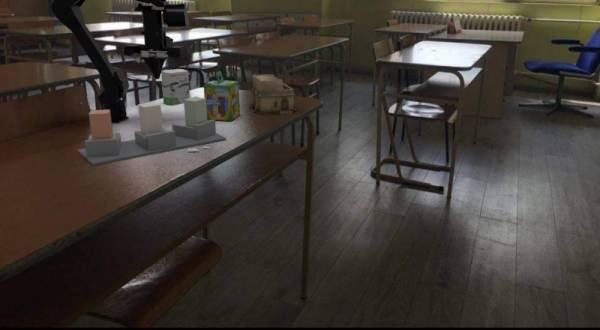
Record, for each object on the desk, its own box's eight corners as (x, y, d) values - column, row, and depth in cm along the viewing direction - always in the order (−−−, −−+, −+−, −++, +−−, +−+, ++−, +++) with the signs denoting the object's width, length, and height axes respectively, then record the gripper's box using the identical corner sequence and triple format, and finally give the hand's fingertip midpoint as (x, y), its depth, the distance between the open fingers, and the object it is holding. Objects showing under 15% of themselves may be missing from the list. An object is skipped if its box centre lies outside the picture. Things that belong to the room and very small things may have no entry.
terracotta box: (95, 148, 129) (90, 110, 125) (114, 147, 130) (109, 109, 126) (94, 153, 125) (88, 114, 122) (113, 151, 126) (108, 113, 123)
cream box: (141, 140, 135) (138, 104, 132) (157, 137, 138) (154, 102, 134) (147, 144, 132) (143, 107, 129) (163, 141, 135) (160, 105, 131)
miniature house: (257, 116, 165) (256, 82, 161) (248, 107, 178) (247, 75, 174) (300, 113, 170) (300, 80, 166) (288, 104, 182) (288, 73, 178)
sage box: (186, 134, 141) (183, 99, 138) (197, 130, 145) (195, 96, 142) (197, 136, 139) (194, 101, 136) (207, 132, 143) (205, 98, 140)
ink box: (170, 105, 178) (167, 72, 174) (163, 103, 182) (160, 70, 178) (191, 102, 184) (188, 69, 180) (183, 100, 188) (181, 68, 184)
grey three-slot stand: (76, 150, 130) (74, 133, 128) (202, 128, 150) (201, 113, 149) (93, 165, 119) (90, 147, 118) (226, 140, 140) (225, 124, 138)
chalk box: (232, 122, 158) (230, 75, 153) (204, 120, 160) (202, 73, 155) (241, 115, 167) (239, 70, 162) (215, 113, 169) (212, 69, 164)
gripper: (193, 26, 156) (196, 76, 161) (138, 24, 159) (143, 73, 165) (177, 28, 145) (181, 82, 151) (119, 27, 149) (125, 79, 154)
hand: (157, 79), depth 155 cm, fingers closed
